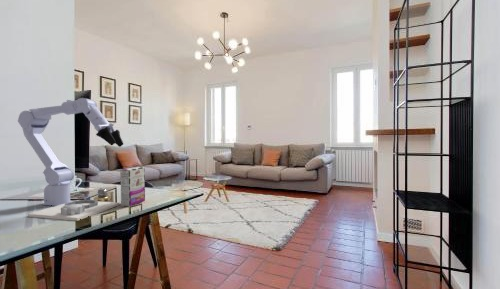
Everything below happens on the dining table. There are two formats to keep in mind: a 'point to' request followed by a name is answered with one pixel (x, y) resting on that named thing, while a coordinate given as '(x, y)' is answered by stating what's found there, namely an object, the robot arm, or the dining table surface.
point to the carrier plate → (74, 210)
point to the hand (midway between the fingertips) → (117, 144)
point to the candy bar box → (132, 186)
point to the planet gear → (102, 195)
